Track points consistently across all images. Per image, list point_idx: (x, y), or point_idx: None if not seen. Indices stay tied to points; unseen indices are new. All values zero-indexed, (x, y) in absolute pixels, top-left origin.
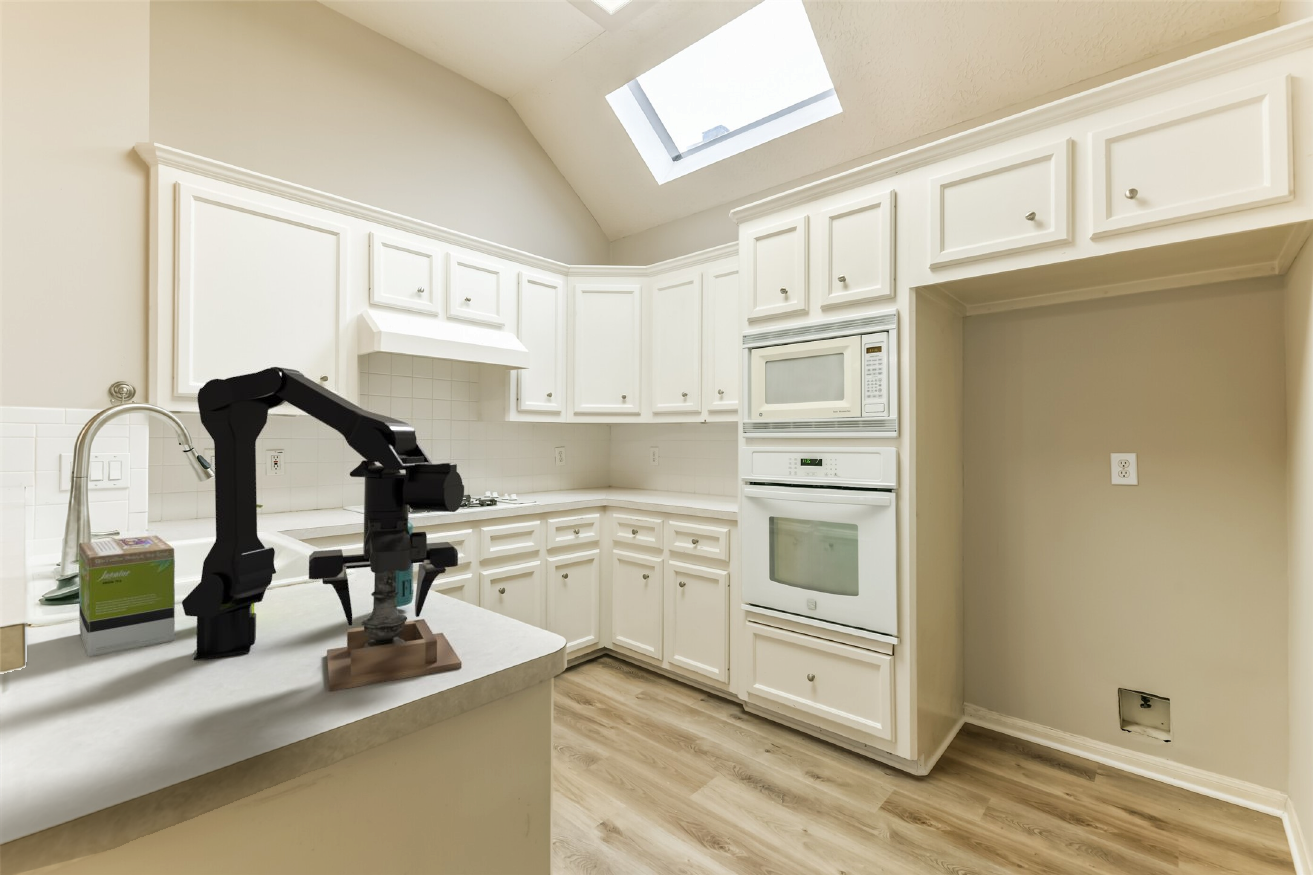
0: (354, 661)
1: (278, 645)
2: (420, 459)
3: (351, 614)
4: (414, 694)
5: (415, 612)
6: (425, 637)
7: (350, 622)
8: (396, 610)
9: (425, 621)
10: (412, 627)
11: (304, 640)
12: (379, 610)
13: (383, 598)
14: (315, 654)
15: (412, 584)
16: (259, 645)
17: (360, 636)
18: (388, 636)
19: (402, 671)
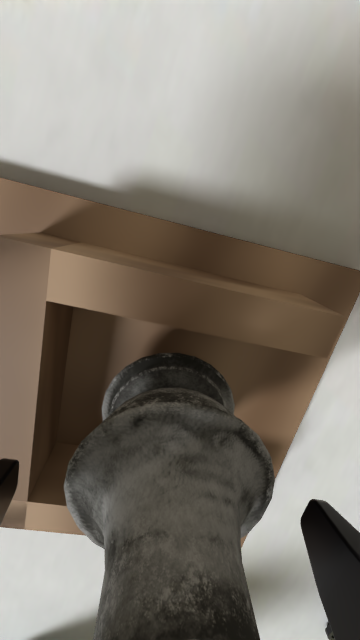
0: (316, 305)
1: (300, 590)
2: None
3: (354, 549)
4: (189, 35)
5: (9, 498)
6: (33, 314)
7: (328, 509)
8: (118, 515)
9: None
10: (44, 487)
11: (253, 593)
12: (226, 529)
13: (224, 634)
14: (270, 515)
15: None
16: None
17: None
18: (177, 388)
19: (168, 227)
